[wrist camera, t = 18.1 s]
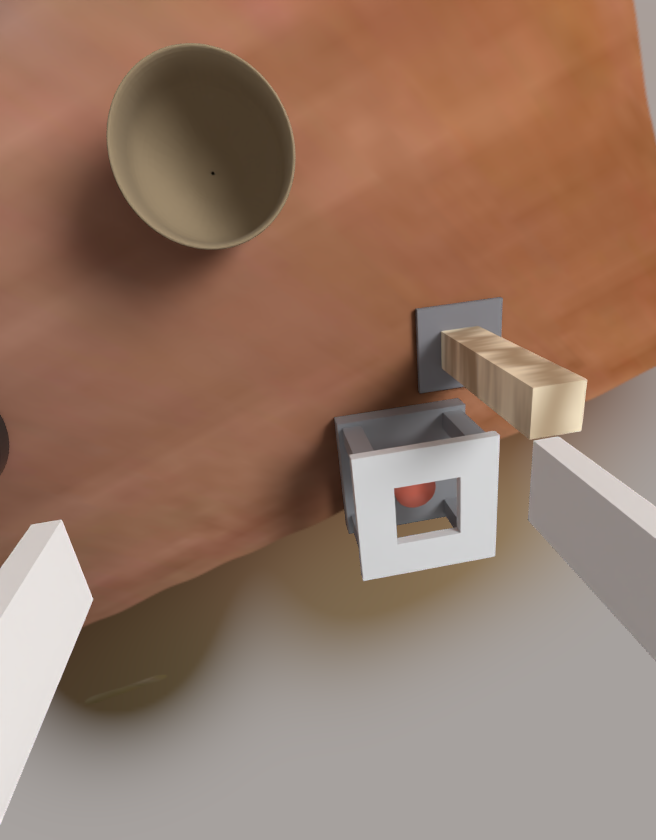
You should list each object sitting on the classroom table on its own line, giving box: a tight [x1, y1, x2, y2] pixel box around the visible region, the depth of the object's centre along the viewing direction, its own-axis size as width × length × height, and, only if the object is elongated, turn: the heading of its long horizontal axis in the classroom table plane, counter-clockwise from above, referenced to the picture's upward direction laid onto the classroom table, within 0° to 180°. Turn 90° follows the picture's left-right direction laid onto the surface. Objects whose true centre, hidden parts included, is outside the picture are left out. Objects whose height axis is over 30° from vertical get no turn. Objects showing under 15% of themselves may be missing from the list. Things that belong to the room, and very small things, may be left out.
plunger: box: [394, 481, 436, 508], centre depth 53 cm, size 4×4×5 cm
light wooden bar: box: [441, 326, 587, 439], centre depth 43 cm, size 4×4×18 cm
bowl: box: [107, 43, 295, 250], centre depth 38 cm, size 13×13×10 cm
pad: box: [416, 297, 503, 393], centre depth 51 cm, size 9×9×1 cm
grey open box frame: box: [334, 398, 500, 581], centre depth 52 cm, size 14×14×10 cm
